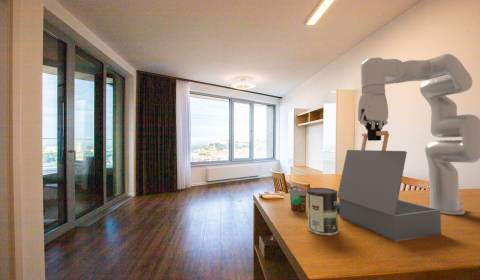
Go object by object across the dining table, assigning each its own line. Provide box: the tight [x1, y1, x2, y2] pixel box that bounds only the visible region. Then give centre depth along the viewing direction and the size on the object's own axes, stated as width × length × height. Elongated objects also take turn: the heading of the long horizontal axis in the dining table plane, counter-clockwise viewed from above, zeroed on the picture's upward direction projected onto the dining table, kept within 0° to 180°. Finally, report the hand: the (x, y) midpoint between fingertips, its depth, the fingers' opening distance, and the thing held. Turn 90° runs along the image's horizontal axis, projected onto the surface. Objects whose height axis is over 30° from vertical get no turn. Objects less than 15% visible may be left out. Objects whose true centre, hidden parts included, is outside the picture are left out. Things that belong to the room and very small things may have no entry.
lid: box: [337, 130, 408, 216], centre depth 79 cm, size 28×25×2 cm
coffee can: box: [306, 187, 339, 236], centre depth 77 cm, size 10×10×14 cm
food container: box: [288, 185, 307, 213], centre depth 100 cm, size 12×6×10 cm, turn 5°
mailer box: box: [338, 198, 442, 243], centre depth 80 cm, size 20×24×8 cm
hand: (374, 140), depth 80 cm, fingers closed on lid
